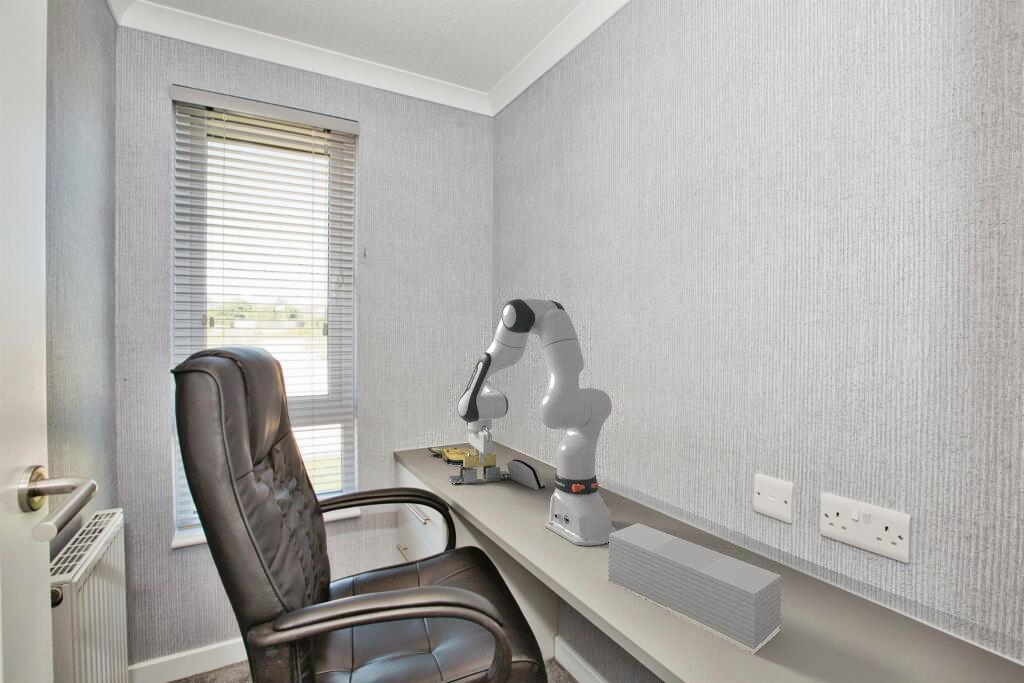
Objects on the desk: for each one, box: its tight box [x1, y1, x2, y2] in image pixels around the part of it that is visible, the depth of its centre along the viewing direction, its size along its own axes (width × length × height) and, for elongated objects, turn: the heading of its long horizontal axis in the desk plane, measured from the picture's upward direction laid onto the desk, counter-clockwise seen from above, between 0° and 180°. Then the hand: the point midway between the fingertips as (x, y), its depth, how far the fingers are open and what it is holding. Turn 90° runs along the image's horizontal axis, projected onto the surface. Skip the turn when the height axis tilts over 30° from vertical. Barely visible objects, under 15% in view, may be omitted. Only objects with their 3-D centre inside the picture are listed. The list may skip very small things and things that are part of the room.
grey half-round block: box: [506, 457, 547, 491], centre depth 180 cm, size 17×5×10 cm, turn 34°
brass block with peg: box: [463, 452, 497, 468], centre depth 183 cm, size 2×12×5 cm, turn 111°
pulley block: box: [427, 447, 475, 466], centre depth 212 cm, size 14×6×30 cm
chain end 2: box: [481, 464, 510, 483], centre depth 185 cm, size 6×9×5 cm, turn 111°
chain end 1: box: [449, 466, 478, 484], centre depth 181 cm, size 6×9×5 cm, turn 111°
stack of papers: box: [607, 522, 782, 649], centre depth 100 cm, size 32×11×11 cm, turn 39°
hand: (479, 460), depth 183 cm, fingers closed on brass block with peg, 2 cm apart
